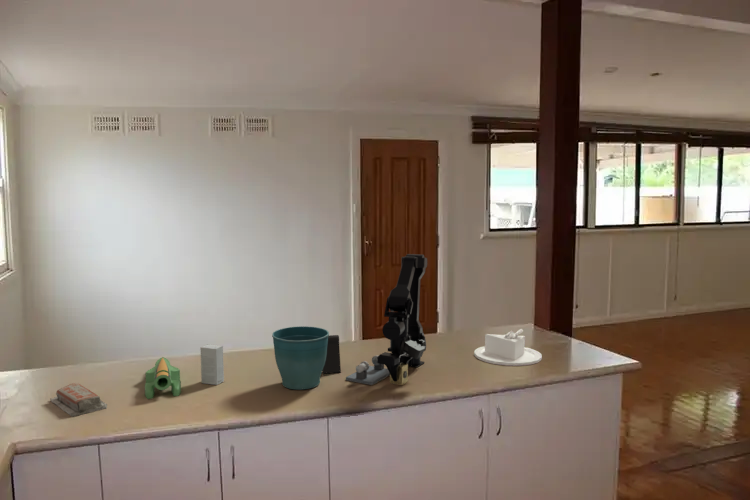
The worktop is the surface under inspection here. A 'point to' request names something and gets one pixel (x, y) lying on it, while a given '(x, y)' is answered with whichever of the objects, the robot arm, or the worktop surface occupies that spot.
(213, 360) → the skincare box
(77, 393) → the packaged product
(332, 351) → the phone stand
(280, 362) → the flower pot
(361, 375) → the grey plate with pegs
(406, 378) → the tan block
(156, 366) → the toy spaceship
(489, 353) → the dish
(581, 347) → the worktop surface
